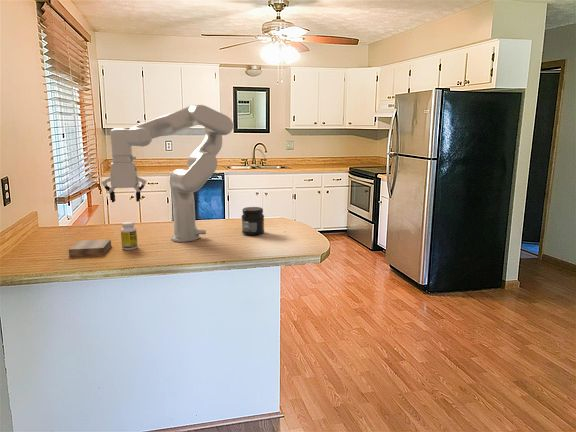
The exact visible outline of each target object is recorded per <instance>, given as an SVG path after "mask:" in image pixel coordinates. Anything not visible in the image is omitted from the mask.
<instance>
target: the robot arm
mask: <svg viewBox="0 0 576 432" xmlns="http://www.w3.org/2000/svg"><path fill="white" fill-rule="evenodd" d="M233 123H234V122H233V121H232V119H231V118H230V117H229V116H228V115H226V114H224V113H221V112H219V111H217V110H215V109H213V108H211V107H210V106H207V105H204V104H192V105H189V106H186V107H184V108H181V109H178V110H176V111H173V112H170V113H167V114H165V115H162V116H159V117H156V118H154V119H151V120H148V121H146V122H142V123H140V124H138V125H134V126H131V127H130V128H112V129H111V130H110V134H109V135H110V142H111V143H110V144H111V145H110V146H111V155H112V157H111V158H112V162H111V163H110V176H109V178H107V179H105V180H103V181H102V182H101V184H102V185H103V187H104V189H105V190H106V191H108V193H109V200H110V201H111V203H114V202H116V194H115V189H130V188H133V189H134V190H135V191H136V192H135V200H136V202H137V203H138V202H140V200H141V196H142V195H141V191H142V190H143V189H144V188H145V186H146V184H147V180H146V179H144V178H141V177H139V176H138V171H137V166H136V163H135V162H133V161H136V160H137V156H133V151H132V150H133V149H132V147H140V148H141V147H146V146H147V147H148V146H149V145H150V144H151V142H152V140H153V139H157V138H159V137H167V136H168V137H169V136H172V135H176V134H178V133H182V131H185V130H187V129H190V128H193V127H195V126H202V127H203V128H204V131H205V135H204V139H203V140H202V142H201V143H200V144H199V146H197V148H196V149H195V150H194V151H193V152H191V154H190V156H189V157H188V158H187V161H186V162H187V168H188V169H187V168H177V169H174V170H173V171H172V172H171V173H170V174H169V175H170V176H169V188H170V191H171V199H172V214H173V215H172V219H173V233H174V234H173V235H171V236H170V239H171V241H173V242H179V243H187V242H194V241H197V240H199V239H200V235H207V230H206V229H198V228H197V226H196V209H195V208H196V207H195V205H196V204H195V194H194V193H196V192H197V191H199V190H200V189H201V188H202V187H203V186H204V185H205V184H206V183H207V181H208V180H209V179H210V178H211V177H212V176H213V175H214V173H215V172H216V170H217V167H218V159H217V157H216V156H217V155H218V154H219V153H220V152H221V149H222V147H223V136H227V135H229V134H230V133H232V131H233V129H234V124H233ZM109 182H110V186H111V187H110V186H109V185H108V183H109ZM139 182H140V183H141V185H140V186H139Z"/></svg>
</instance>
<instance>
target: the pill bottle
mask: <svg viewBox="0 0 576 432" xmlns="http://www.w3.org/2000/svg"><path fill="white" fill-rule="evenodd" d="M121 226H122V228H121V229H120V239H121V248H122V250H124V251H131V250H135V249H137V248H138V234H137V228H136V227H135V222H134V221H125V222H124V221H123V222H122V223H121Z"/></svg>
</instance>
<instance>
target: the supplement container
mask: <svg viewBox="0 0 576 432" xmlns="http://www.w3.org/2000/svg"><path fill="white" fill-rule="evenodd" d="M241 212H242V215H241V232H242V234H243V235H244V236H248V237H257V236H261V235H263V234H264V233H265V214H263V213H264V209H263V207H259V206H249V207H248V206H247V207H244V208H242V211H241Z"/></svg>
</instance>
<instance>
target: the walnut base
mask: <svg viewBox="0 0 576 432" xmlns="http://www.w3.org/2000/svg"><path fill="white" fill-rule="evenodd" d="M111 241H112V240H111V239H93V240H92V239H88V240H78V241H76V242H75V243H74V244H73V245H72V246H71V247H69V249H68V256H69V258H71V257H89V256H90V257H91V256H92V257H93V256H94V257H95V256H105V254H107V252H108V251H109V249H110V248H111V247H112V242H111Z"/></svg>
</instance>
